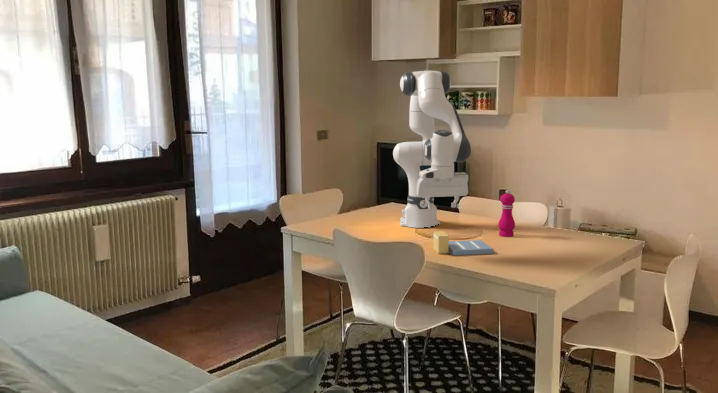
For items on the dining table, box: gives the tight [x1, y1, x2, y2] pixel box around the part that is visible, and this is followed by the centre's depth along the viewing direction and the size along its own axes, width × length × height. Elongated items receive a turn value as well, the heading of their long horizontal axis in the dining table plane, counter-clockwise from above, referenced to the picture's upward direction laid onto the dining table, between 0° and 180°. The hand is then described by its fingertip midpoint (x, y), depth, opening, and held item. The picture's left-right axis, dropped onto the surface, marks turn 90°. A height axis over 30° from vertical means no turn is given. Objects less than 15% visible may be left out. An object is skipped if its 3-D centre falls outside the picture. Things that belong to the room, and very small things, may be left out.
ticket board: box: [448, 239, 494, 256], centre depth 264 cm, size 14×17×2 cm
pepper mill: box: [497, 189, 516, 238], centre depth 286 cm, size 7×7×20 cm
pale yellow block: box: [432, 230, 450, 255], centre depth 262 cm, size 8×4×7 cm, turn 8°
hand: (442, 207), depth 260 cm, fingers open, 8 cm apart
